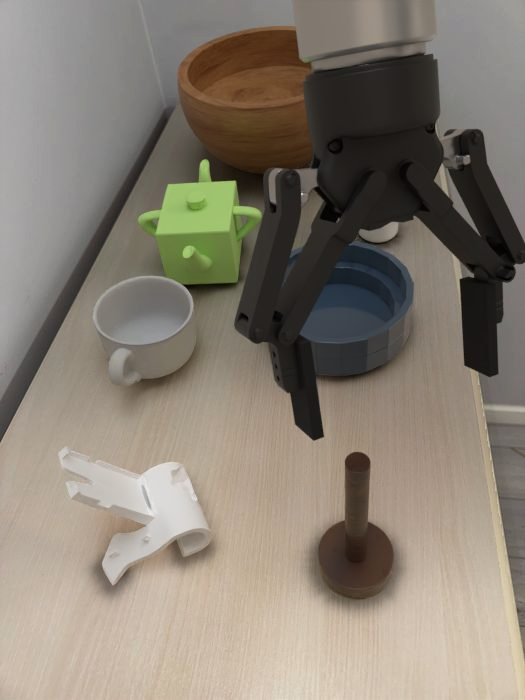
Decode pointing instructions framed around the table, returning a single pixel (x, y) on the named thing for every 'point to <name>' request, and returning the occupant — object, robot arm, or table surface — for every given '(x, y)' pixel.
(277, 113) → the bowl
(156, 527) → the plastic part
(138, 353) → the teacup
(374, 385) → the table surface
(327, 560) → the wooden stand
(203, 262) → the teapot
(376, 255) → the mixing bowl
